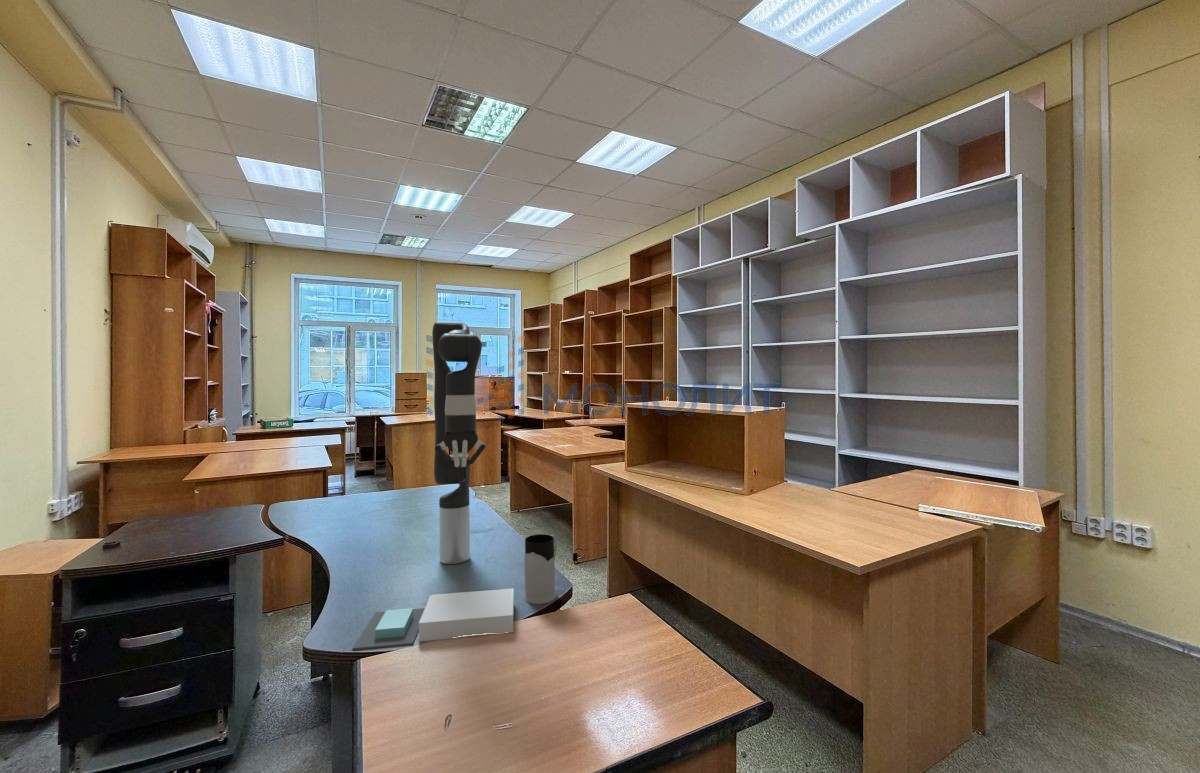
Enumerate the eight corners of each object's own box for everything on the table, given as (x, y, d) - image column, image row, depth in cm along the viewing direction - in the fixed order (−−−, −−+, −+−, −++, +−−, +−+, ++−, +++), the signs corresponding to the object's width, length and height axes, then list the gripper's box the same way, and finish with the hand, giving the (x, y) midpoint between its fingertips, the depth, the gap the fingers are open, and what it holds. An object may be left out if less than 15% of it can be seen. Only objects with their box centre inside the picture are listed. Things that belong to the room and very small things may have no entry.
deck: (430, 611, 116) (430, 594, 116) (513, 604, 119) (513, 588, 119) (418, 641, 102) (418, 623, 102) (512, 632, 105) (512, 615, 105)
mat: (375, 613, 115) (375, 612, 115) (427, 609, 117) (427, 607, 117) (352, 650, 99) (352, 648, 99) (412, 644, 101) (412, 642, 101)
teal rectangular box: (413, 608, 112) (413, 616, 112) (386, 610, 111) (386, 618, 111) (404, 627, 103) (404, 636, 103) (375, 629, 102) (375, 639, 102)
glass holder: (516, 600, 121) (516, 542, 121) (542, 579, 134) (541, 526, 134) (547, 605, 118) (547, 546, 118) (570, 583, 131) (569, 529, 131)
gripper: (488, 411, 125) (488, 477, 125) (436, 412, 122) (436, 479, 122) (486, 413, 117) (486, 483, 117) (430, 414, 115) (431, 485, 115)
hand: (461, 481), depth 120 cm, fingers closed
